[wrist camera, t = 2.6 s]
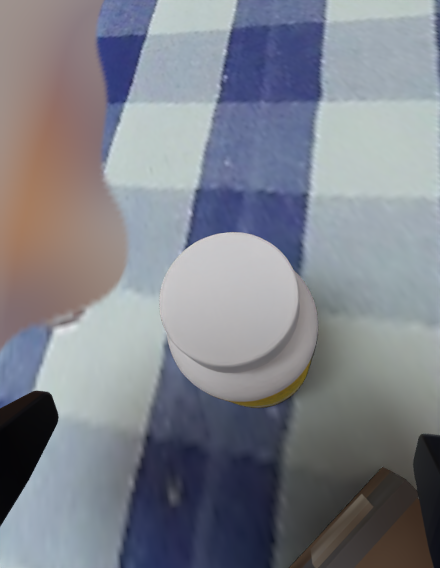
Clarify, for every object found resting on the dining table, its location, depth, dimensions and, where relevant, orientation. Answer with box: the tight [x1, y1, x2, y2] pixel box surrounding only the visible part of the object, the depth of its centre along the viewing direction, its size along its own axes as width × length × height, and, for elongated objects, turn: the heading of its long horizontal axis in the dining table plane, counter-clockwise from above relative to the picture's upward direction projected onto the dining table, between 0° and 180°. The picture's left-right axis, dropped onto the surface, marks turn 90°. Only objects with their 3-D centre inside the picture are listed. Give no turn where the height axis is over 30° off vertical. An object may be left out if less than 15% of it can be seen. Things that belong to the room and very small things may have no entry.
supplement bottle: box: [159, 232, 318, 408], centre depth 14 cm, size 5×5×10 cm
